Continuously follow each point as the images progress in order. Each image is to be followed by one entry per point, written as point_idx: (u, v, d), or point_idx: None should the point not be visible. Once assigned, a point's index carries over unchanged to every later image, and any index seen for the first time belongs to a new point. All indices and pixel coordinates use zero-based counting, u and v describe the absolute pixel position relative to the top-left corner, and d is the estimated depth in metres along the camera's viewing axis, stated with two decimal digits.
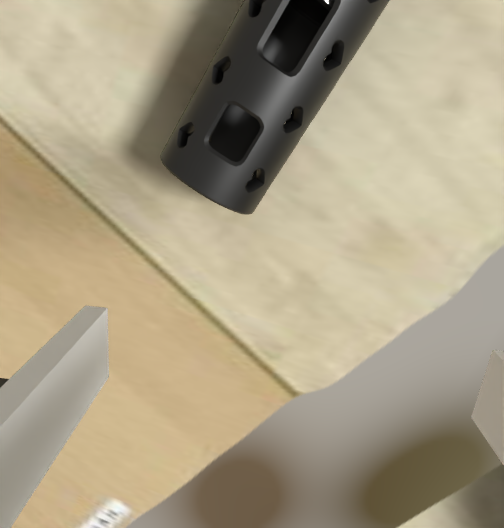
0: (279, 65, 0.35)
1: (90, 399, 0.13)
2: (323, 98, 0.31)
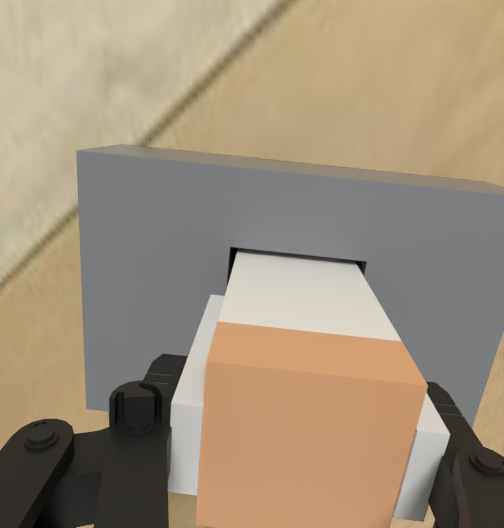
0: None
1: None
2: None
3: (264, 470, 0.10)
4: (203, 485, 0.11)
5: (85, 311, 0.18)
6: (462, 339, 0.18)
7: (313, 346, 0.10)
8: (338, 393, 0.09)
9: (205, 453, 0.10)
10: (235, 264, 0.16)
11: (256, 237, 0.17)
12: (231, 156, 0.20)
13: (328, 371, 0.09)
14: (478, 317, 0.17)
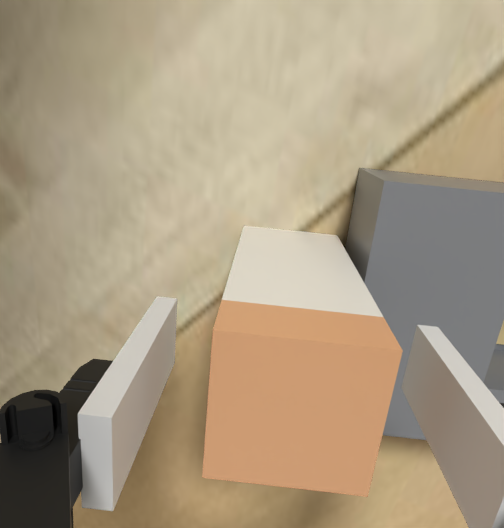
0: None
1: (164, 381, 0.15)
2: None
3: (263, 427, 0.12)
4: (209, 441, 0.12)
5: None
6: None
7: (305, 320, 0.12)
8: (326, 358, 0.11)
9: (211, 412, 0.12)
10: (237, 253, 0.17)
11: None
12: (473, 180, 0.21)
13: (317, 338, 0.11)
14: None
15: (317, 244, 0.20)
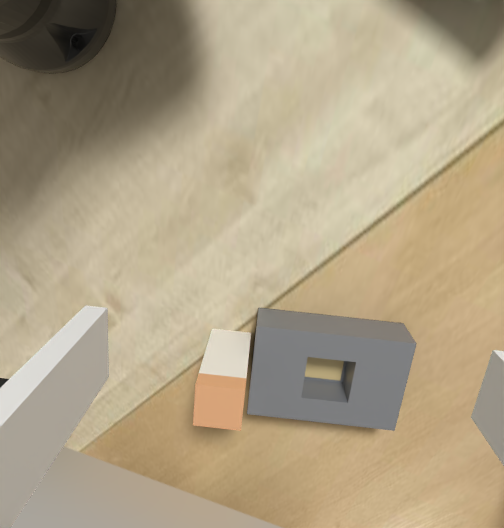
0: None
1: (90, 399, 0.13)
2: None
3: (209, 410, 0.43)
4: (194, 414, 0.43)
5: (252, 378, 0.49)
6: (391, 388, 0.49)
7: (222, 380, 0.43)
8: (225, 391, 0.42)
9: (195, 406, 0.42)
10: (206, 349, 0.48)
11: (317, 354, 0.48)
12: (303, 313, 0.51)
13: (223, 386, 0.42)
14: (396, 381, 0.48)
15: (239, 340, 0.51)
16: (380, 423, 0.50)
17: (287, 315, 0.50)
